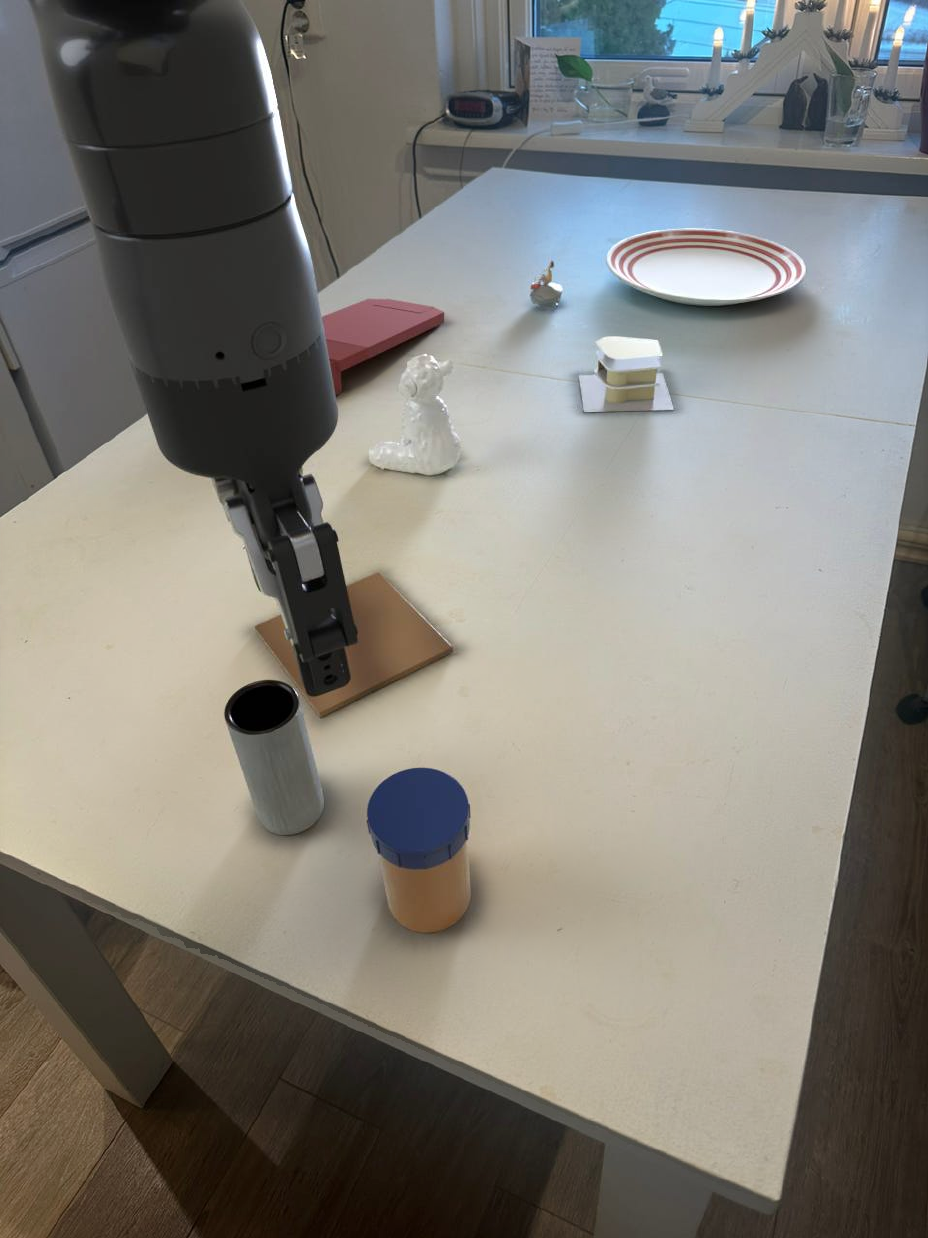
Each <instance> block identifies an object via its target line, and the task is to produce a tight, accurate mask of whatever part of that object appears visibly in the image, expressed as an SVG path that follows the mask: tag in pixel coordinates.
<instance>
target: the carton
mask: <svg viewBox="0 0 928 1238" xmlns="http://www.w3.org/2000/svg"><path fill="white" fill-rule="evenodd" d="M322 321H323V326H324V332H325V338H326V344H327V350H328V355H329V361H330V367H331V373H332V378H333V384H334V390H335V396H337V395H339V394H341V393H342V392H343V389H342V372H343V371H345V370H347V369H349V368H351V367H354V366H356V365H357V364H361V363H362V362H365V361H367V360H369V359H371V358H374V357H375V356H378V355H379V354H382V353H383V352H385V351H388V350H389V349H392V348H394V347H396V346H398V345H399V344H402V343H404V342H406V341H408V340H410V339H412V338H415V337H417V336H419V335H420V334H422V333H425V332H427V331H429V330H431V329H433V328H435V327H437V326H439V325H441V324H444V323H445V311H443V310H441V309H439V308H436V307H435V306H432V305H425V304H422V303H421V304H420V303H416V302H415V303H414V302H408V301H403V300H396V299H391V298H367V299H363V300H361V301H359V302H356V303H353V304H351V305H348V306H346V307H344V308H341V309H338V310H336V311H333V312H330V313H328V314H326V315H322Z"/></svg>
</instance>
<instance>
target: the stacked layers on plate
mask: <svg viewBox="0 0 928 1238" xmlns="http://www.w3.org/2000/svg"><path fill="white" fill-rule="evenodd" d="M595 344H596V345H597V346H598V347H599V350H597V351H596V352H595V353H594V354H595V355H594V356H595V357H596V359H597V360H598V362H597V367H596V368H594V369H593V370H594V374H579V375H578V380H579V387H580V394H581V401H582V408H583V413H602V412H605V413H606V412H607V413H608V412H609V413H610V412H644V411H645V412H647V411H648V412H649V411H674V410H675V409H674V405H673V402H672V399H671V396H670V392H669V389H668V385H667V382H666V379H665V376H664V372H658V370H659V369H660V370H661V369H662V364H661V361H660V357H662V356H663V352H662V348H661V345H660V342H659V340H658V339H652V338H651V339H650V338H640V337H628V336H619V335H616V336H615V335H614V336H613V335H610V336H603V337H602V338H599V339H598V340H597V341H595Z"/></svg>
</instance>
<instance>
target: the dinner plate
mask: <svg viewBox="0 0 928 1238" xmlns="http://www.w3.org/2000/svg"><path fill="white" fill-rule="evenodd" d="M605 263H606V266H607V268H608V269H609V271H610V272H611V273H612V275H614V277H616V278H617V279H618V280H619V281H621V282H622V283H624V284H626V285H628V286H629V287H630V288H633V289H635V290H637V291H640V292H642V293H644V294H647V295H650V296H653V297H657V298H660V299H662V300H665V301H668V302H672V303H678V304H684V305H690V306H699V307H700V306H702V307H720V306H721V307H722V306H732V305H738V304H741V303H743V304H744V303H749V302H755V301H759V300H762V299H767V298H769V297H774V296H776V295H777V296H778V295H780V294H783V293H786V292H788V291H790V290H792V289H794V288H796V287H797V286H798V285H800V284H801V283H802V282H803V281H804V279H805V278H806V276H807V265H806V263H805V261H804V259H803V258H801V256H799V255H798V254H797V253H796V252H794V251H793V250H791V249H790V248H788V247H786V246H784V245H782V244H780V243H778V242H776V241H772V240H770V239H767V238H764V237H761V236H758V235H757V236H756V235H753V234H748V233H743V232H739V231H732V230H726V229H725V230H724V229H713V228H671V229H670V228H669V229H661V230H653V231H648V232H643V233H638V234H635V235H631V236H628V237H627V238H624V239H622V240H620V241H618V242H617V243H615V244H614V245H613V246H611V248H609V250H608V252H607V253H606V256H605Z"/></svg>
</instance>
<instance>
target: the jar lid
mask: <svg viewBox="0 0 928 1238" xmlns="http://www.w3.org/2000/svg"><path fill="white" fill-rule="evenodd" d="M366 817H367V819H366V825H367V831H368V834H369V835H370V838H371V841H372V844H373V846H374V848H375V850H376V853H377V854H380V855H381V856H382V857H383V858H384V859H386V860H387V861H388V862H390V863H392V864H394V865H396V866H398V867H399V868H400V867H402V868H406V869H425V870H426V869H428V868H432V867H435V866H438V865H441V864H443V863H445V862H446V861H448V860H450V859H452V857H454V856H455V855H456V854H457V853H458V852H459V851H460V849H461V848H462V847H463V845H464V844H465V842H466V840H467V841H468V840H469V834H470V826H471V820H470V819H471V818H472V815H471V804H470V803H469V799H468V795H467V793H466V791H465V789H464V787H463V785H462V784H461V783H460V782H459V781H458V779H456V778H455V777H453V776H452V775H450V773H446V772H444V771H442V770H440V769H435V768H431V767H411V768H407V769H403V770H400V771H398V772H395V773H393V774H391V775H390V776H388V777H386V778H385V779H384V780H383V781H381V782H380V783H379V784H378V785H377V787H376V788H375V789H374V790H373V792H372V793H371V795H370V797H369V799H368V803H367V808H366Z"/></svg>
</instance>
